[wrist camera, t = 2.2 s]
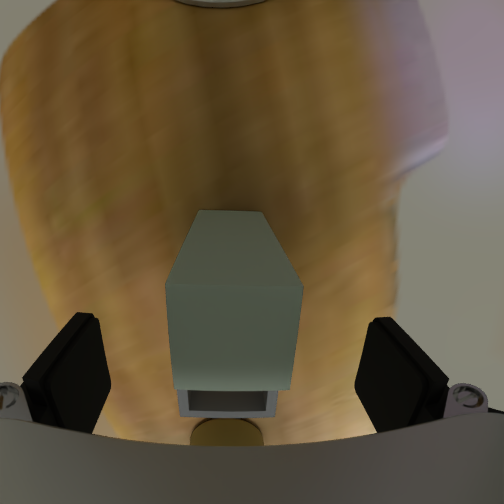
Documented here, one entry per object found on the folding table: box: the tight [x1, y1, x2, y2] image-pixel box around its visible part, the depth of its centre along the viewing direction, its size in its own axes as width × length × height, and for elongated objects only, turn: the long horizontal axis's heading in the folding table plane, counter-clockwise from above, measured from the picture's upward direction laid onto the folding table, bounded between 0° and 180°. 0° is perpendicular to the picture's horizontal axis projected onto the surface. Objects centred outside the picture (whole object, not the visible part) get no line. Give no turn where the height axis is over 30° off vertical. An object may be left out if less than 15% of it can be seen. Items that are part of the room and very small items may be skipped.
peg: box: [165, 210, 304, 391], centre depth 16 cm, size 4×4×12 cm
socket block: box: [177, 389, 278, 418], centre depth 22 cm, size 7×7×4 cm
